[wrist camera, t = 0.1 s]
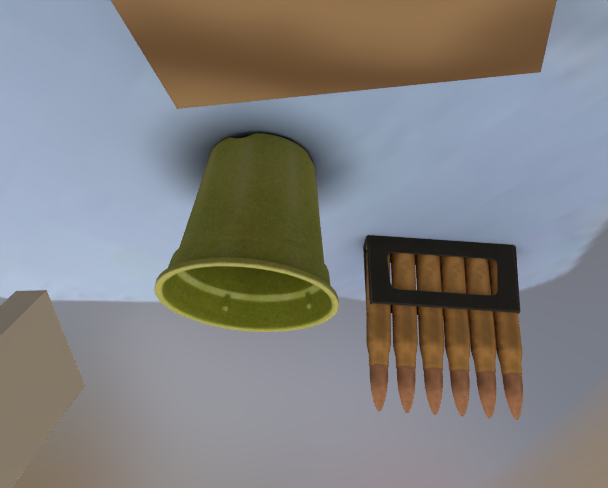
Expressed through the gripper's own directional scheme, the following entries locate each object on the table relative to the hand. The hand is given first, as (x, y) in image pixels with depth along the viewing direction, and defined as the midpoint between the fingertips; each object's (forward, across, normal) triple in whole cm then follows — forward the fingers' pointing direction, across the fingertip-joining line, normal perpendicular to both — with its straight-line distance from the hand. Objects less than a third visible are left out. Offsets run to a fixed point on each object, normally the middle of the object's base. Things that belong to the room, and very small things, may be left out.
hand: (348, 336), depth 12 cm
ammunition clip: (+28, +3, -13) cm, 31 cm away
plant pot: (+21, -7, -3) cm, 23 cm away
